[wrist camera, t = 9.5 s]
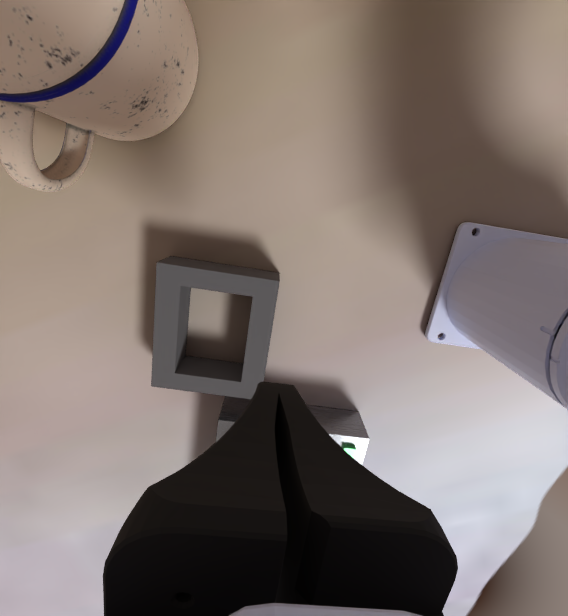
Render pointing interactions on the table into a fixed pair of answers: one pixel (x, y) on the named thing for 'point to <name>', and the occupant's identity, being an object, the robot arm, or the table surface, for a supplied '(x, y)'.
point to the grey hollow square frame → (174, 324)
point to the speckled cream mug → (90, 77)
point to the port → (336, 422)
